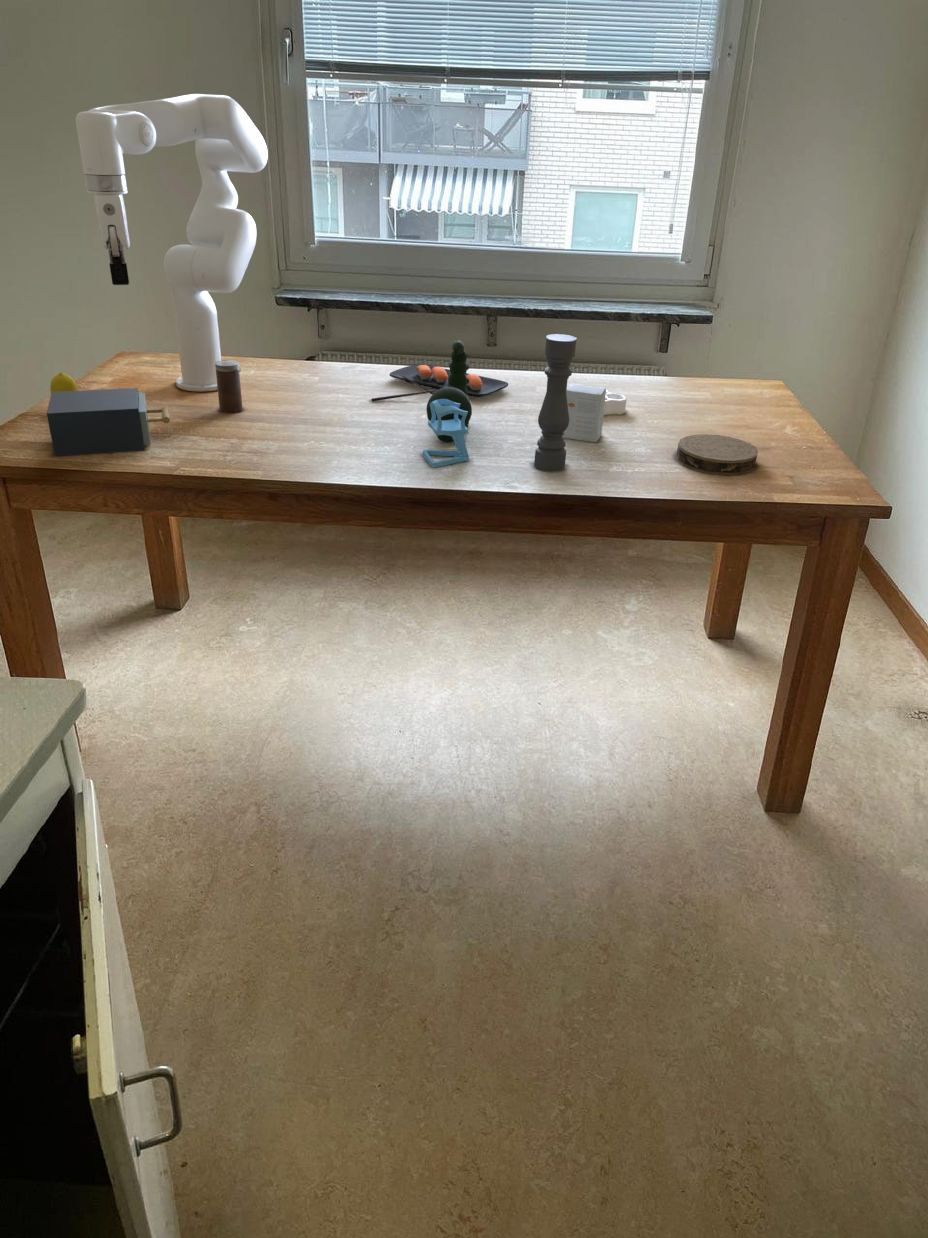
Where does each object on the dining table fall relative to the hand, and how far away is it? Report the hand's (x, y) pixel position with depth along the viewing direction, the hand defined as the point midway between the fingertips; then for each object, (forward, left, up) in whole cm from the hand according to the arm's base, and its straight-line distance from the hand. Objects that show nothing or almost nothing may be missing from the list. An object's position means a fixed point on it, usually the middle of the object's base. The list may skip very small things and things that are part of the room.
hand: (120, 283), depth 182 cm
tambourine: (-79, +96, -27) cm, 127 cm away
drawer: (+11, +14, -26) cm, 31 cm away
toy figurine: (-47, +50, -27) cm, 74 cm away
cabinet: (+14, +12, -27) cm, 33 cm away
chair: (-35, +62, -27) cm, 76 cm away
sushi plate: (-63, +25, -27) cm, 73 cm away
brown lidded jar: (-17, +9, -27) cm, 33 cm away
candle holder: (-49, +77, -27) cm, 95 cm away
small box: (-68, +69, -27) cm, 101 cm away
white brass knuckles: (-85, +56, -27) cm, 105 cm away
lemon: (+11, -12, -27) cm, 32 cm away
